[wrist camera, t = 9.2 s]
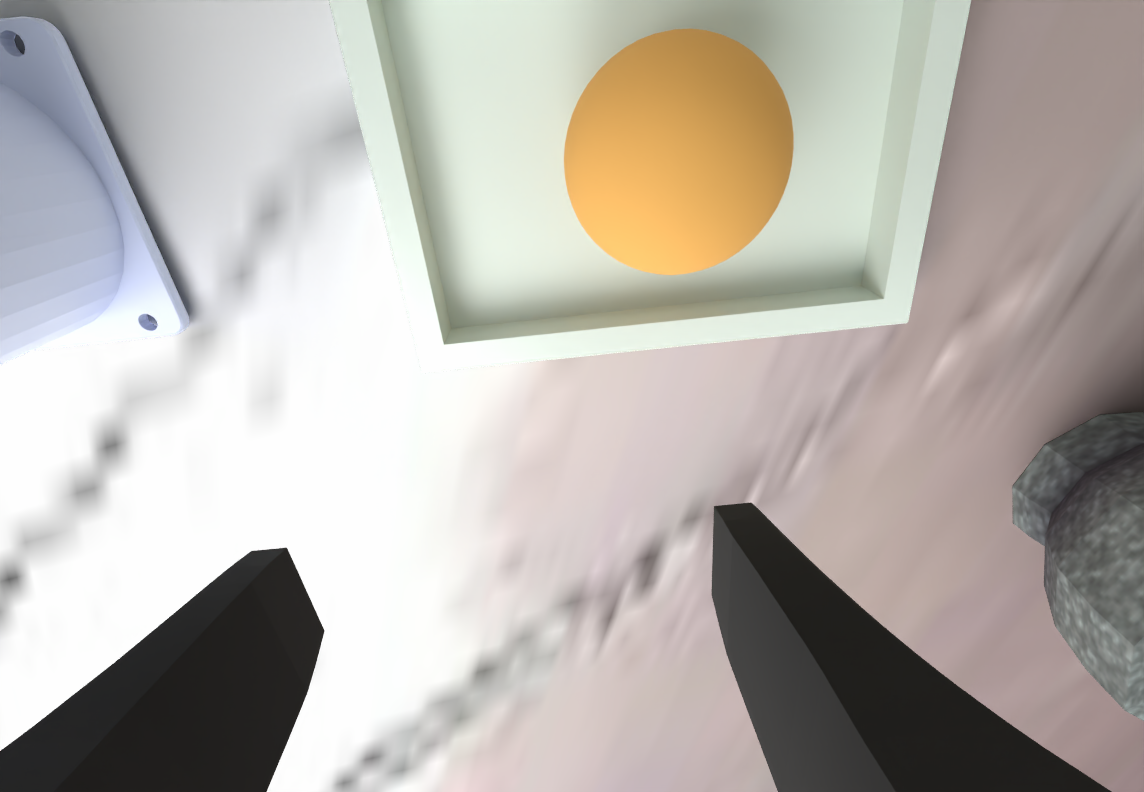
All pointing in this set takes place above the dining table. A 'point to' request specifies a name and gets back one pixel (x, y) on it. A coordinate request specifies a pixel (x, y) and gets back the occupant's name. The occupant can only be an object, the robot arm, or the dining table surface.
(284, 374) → the dining table surface
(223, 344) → the dining table surface
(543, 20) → the tray
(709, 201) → the ball
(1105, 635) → the mortar and pestle
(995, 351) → the dining table surface
